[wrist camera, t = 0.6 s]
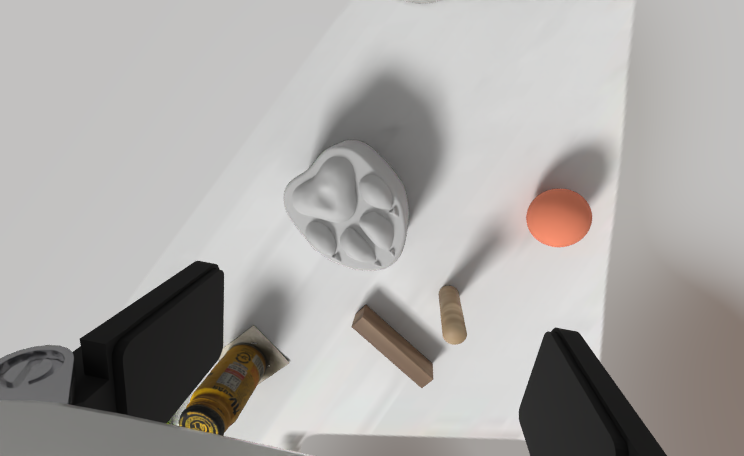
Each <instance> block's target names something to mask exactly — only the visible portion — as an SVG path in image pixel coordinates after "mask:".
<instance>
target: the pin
mask: <svg viewBox="0 0 744 456" xmlns="http://www.w3.org/2000/svg"><path fill="white" fill-rule="evenodd" d="M439 303H440V313H441V323H442V333H443V338H444V340H445V341H446V342H448V343H450V344H460V343H462V342H463V341H464V340H465V339H466V337H467V332H466V327H465V322H464V317H463V312H462V308H461V303H460V298H459V293H458V290H457V289H456V288H455V287H453V286H444V287H442V288H441V289H440V291H439Z"/></svg>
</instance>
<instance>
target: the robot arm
mask: <svg viewBox="0 0 744 456" xmlns="http://www.w3.org/2000/svg"><path fill="white" fill-rule="evenodd" d="M404 1H407V2H412V3H432V2H436V1H440V0H404ZM223 312H224V273H223V271H222V270H219V267H218V265H217V264H212V263H207V262H202V261H196V262H194V263H192V264H191V265H189V266H188V267H186V268H185V269H183V270H182V271H180V272H179V273H177V274H176V275H174V276H173V277H171V278H170V279H168V280H167V281H165V282H164V283H162V284H161V285H159V286H158V287H156V288H155V289H153V290H152V291H151V292H149V293H148V294H146V295H145V296H143V297H142V298H140V299H139V300H137V301H136V302H134V303H133V304H131V305H130V306H128V307H127V308H125V309H124V310H122V311H121V312H119V313H118V314H116V315H115V316H113V317H112V318H111V319H109V320H107V321H106V322H104V323H103V324H101V325H100V326H98V327H97V328H95V329H94V330H92V331H91V332H89V333H88V334H86V335H85V336H83V337H82V338H80V343H81V346H80V347H79V348H78V349H76V350H75V351H73V352H72V351H70V350H69V349H68V348H65V347H62V346H55V345H45V346H36V347H31V348H27V349H23V350H19V351H17V352H14V353H11V354H9V355H6V356H4V357H2V358H1V359H0V456H313V455H308V454H304V453H299V452H295V451H290V450H286V449H281V448H277V447H272V446H268V445H263V444H258V443H254V442H249V441H245V440H240V439H235V438H231V437H226V436H221V435H217V434H212V433H208V432H203V431H198V430H194V429H189V428H184V427H180V426H175V425H171V424H166V423H167V422H168V421H169V420H170V419H171V417H172V416H173V415H174V414H175V412H176V411H177V410H178V409H179V407H180V406H181V405H182V404H183V403H184V401H185V400H186V399H187V398H188V396H189V395H190V394H191V393H192V391H193V390H194V389H195V388H196V387H197V385H198V384H199V383H200V382H201V380H202V379H203V378H204V377H205V375H206V374H207V373H208V372H209V370H210V369H211V368H212V367H213V366H214V364H215V363H216V362H217V361H218V359H219V358H220V356H221V353H222V350H223ZM519 421H520V424H521V428H522V431H523V434H524V437H525V440H526V443H527V446H528V450H529V453H530V456H667V455H666V454H665V452H664V451H663V450H662V448H661V447H660V445H659V444H658V442H657V441H656V440H655V438H654V437H653V435H652V434H651V433H650V431H649V430H648V428H647V427H646V426H645V424H644V423H643V421H642V420H641V419H640V418H639V416H638V415H637V413H636V412H635V410H634V409H633V407H632V406H631V405H630V404H629V402H628V400H627V399H626V398H625V396H624V395H623V394H622V392H621V391H620V389H619V388H618V386H617V385H616V384H615V382H614V381H613V380H612V378H611V377H610V375H609V374H608V372H607V371H606V370H605V368H604V367H603V366H602V364H601V363H600V361H599V360H598V358H597V357H596V356H595V354H594V353H593V351H592V350H591V349H590V347H589V346H588V344H587V343H586V342H585V340H584V339H583V337H582V336H581V335H580V334H579V333H578V332H576V331H571V330H565V329H560V328H554V329H553V330H552V331H551V332H546V333H545V335H544V337H543V340H542V343H541V346H540V349H539V352H538V355H537V358H536V361H535V364H534V367H533V370H532V373H531V375H530V378H529V381H528V384H527V387H526V390H525V393H524V396H523V399H522V402H521V405H520V409H519Z"/></svg>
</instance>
